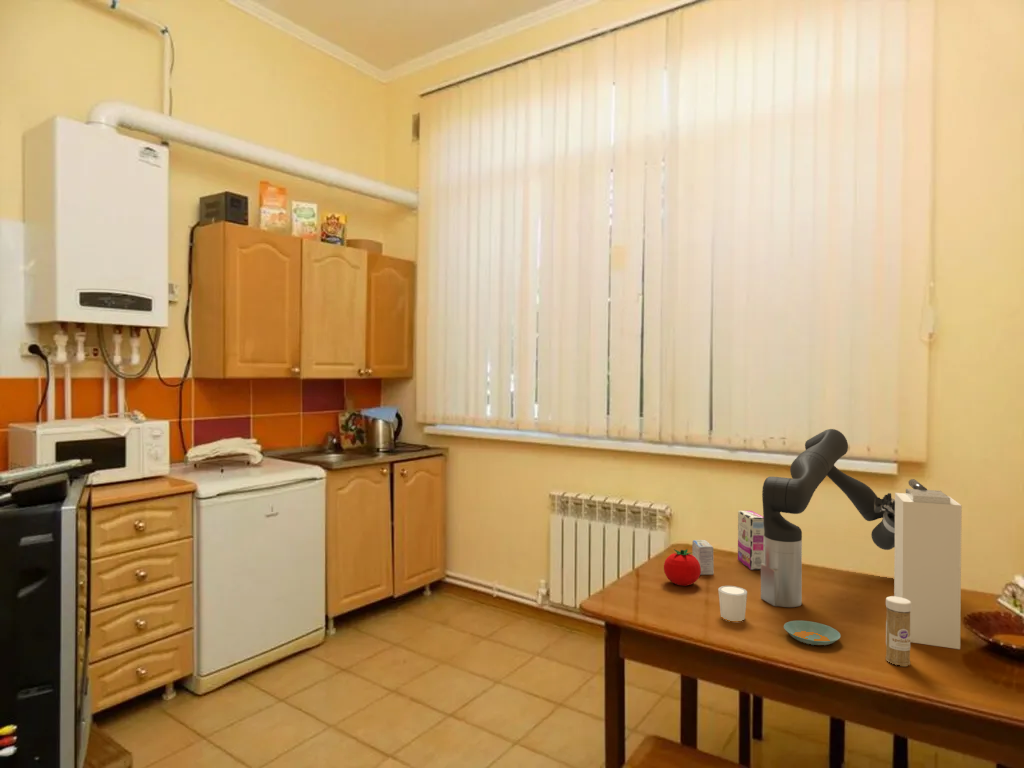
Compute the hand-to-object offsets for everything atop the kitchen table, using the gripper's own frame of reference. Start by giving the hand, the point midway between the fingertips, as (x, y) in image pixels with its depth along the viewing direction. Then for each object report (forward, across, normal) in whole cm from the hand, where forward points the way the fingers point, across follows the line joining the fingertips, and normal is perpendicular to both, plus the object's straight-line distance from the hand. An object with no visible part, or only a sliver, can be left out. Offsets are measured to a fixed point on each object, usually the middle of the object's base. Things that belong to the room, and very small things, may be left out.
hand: (908, 497), depth 163 cm
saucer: (+14, -24, +42) cm, 50 cm away
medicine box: (-21, -53, +21) cm, 61 cm away
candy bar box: (-31, -39, +15) cm, 52 cm away
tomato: (-8, -57, +28) cm, 64 cm away
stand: (+4, 0, +35) cm, 35 cm away
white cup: (+9, -42, +38) cm, 58 cm away
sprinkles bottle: (+20, -8, +44) cm, 49 cm away
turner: (+16, 0, +5) cm, 16 cm away
